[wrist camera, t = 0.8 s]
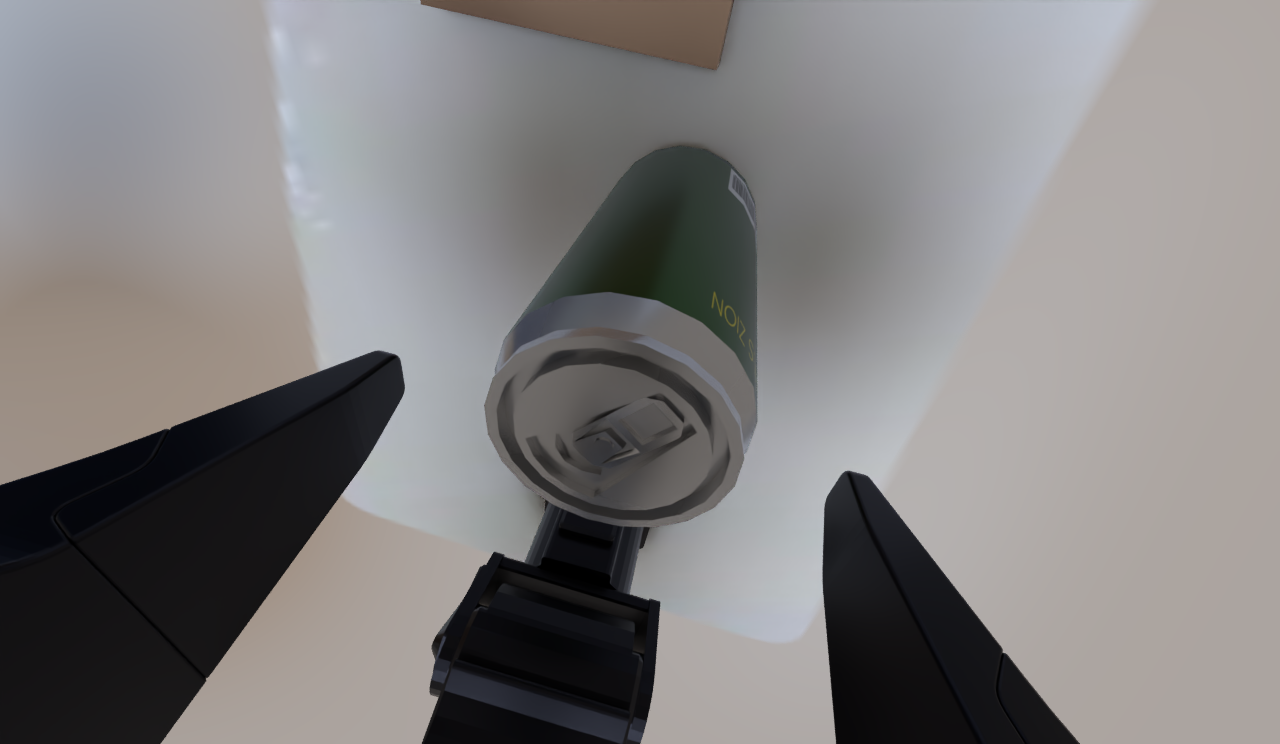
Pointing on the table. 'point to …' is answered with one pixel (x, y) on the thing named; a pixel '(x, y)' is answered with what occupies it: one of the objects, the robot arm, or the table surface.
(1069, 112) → the table surface
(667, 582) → the table surface
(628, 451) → the beer can
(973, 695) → the robot arm
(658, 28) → the brown square coaster
